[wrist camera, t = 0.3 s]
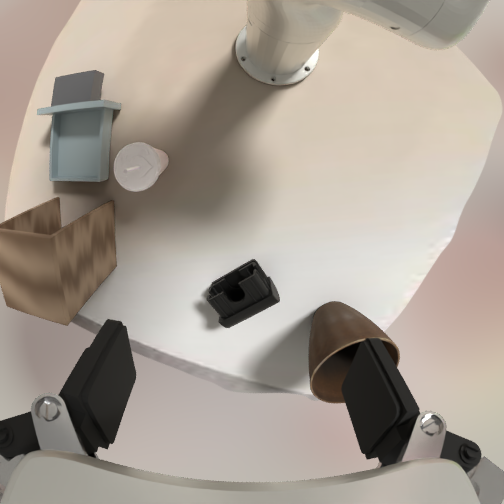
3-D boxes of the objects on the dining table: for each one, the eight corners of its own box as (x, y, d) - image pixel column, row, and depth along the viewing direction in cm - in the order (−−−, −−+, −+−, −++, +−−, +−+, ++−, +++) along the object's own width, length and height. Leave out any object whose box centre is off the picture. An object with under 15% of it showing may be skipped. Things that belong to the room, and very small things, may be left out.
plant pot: (361, 272, 48) (399, 323, 34) (370, 329, 54) (399, 382, 39) (285, 299, 50) (299, 361, 35) (304, 353, 56) (319, 413, 41)
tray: (61, 83, 33) (41, 80, 27) (125, 74, 34) (109, 67, 28) (54, 177, 39) (34, 184, 34) (115, 179, 40) (98, 185, 35)
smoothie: (176, 181, 41) (147, 200, 29) (138, 181, 41) (98, 199, 28) (177, 140, 39) (147, 141, 26) (139, 141, 39) (96, 145, 26)
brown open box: (57, 197, 41) (-12, 229, 24) (114, 200, 42) (50, 238, 25) (62, 257, 46) (6, 306, 29) (116, 266, 47) (67, 325, 30)
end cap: (230, 312, 51) (229, 335, 45) (208, 284, 49) (203, 305, 42) (277, 287, 49) (282, 308, 43) (257, 256, 47) (259, 274, 41)
